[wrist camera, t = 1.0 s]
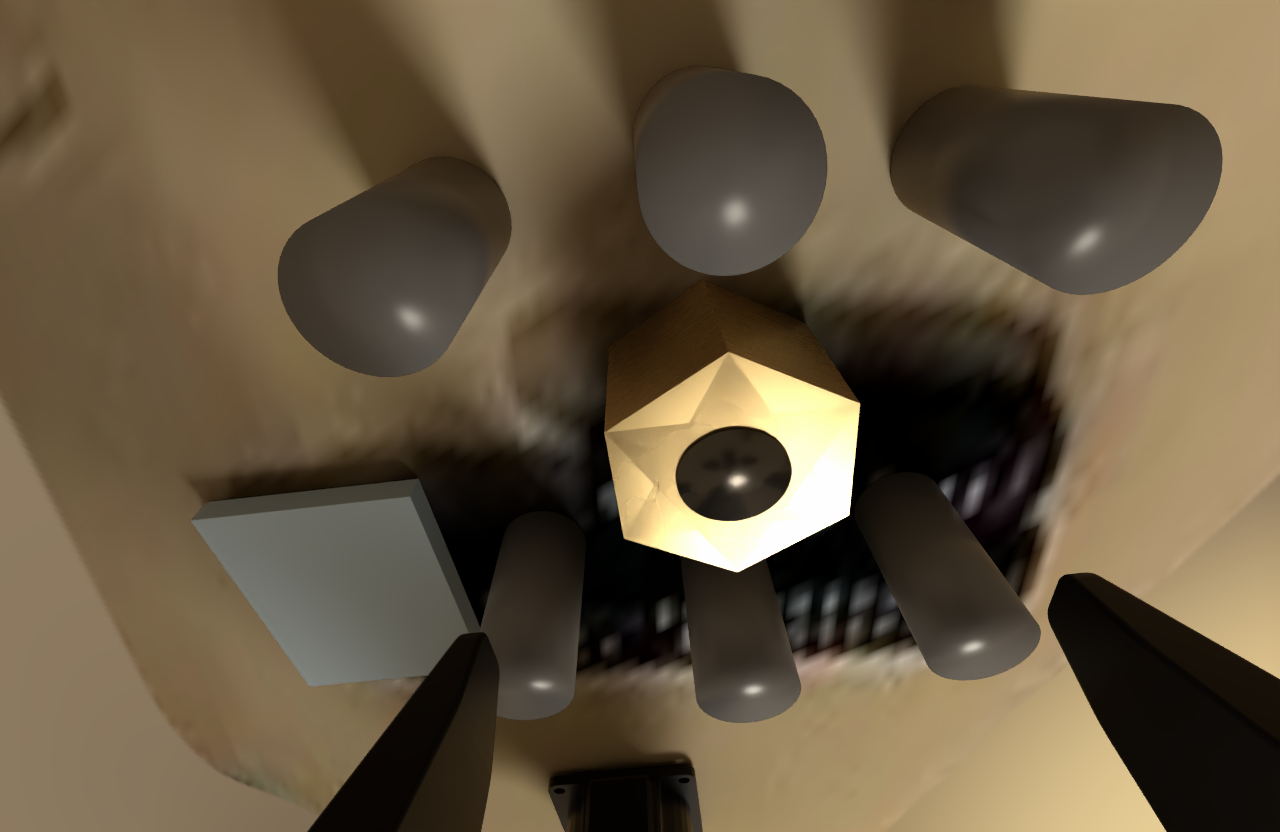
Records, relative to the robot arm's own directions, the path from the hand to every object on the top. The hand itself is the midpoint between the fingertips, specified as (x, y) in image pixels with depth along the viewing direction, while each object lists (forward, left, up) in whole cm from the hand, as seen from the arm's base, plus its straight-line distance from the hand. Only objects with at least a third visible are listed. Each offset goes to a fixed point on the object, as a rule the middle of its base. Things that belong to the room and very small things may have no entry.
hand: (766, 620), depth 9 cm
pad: (-6, +12, -7) cm, 15 cm away
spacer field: (0, 0, -7) cm, 7 cm away
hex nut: (0, 0, -8) cm, 8 cm away
